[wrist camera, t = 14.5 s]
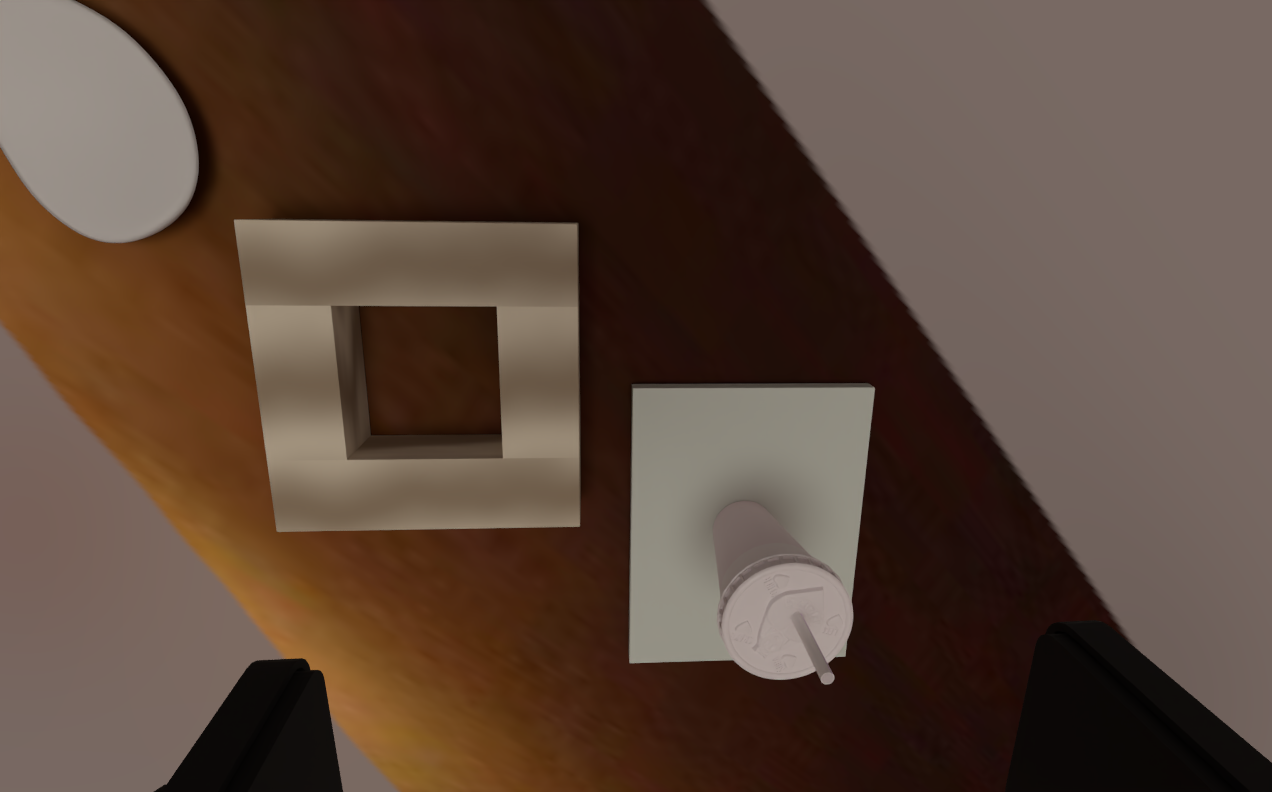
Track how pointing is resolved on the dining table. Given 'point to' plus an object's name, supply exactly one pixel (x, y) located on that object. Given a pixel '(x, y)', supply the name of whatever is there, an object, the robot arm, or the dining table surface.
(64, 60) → the white long flared piece
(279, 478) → the wooden square frame
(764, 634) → the smoothie
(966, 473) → the dining table surface
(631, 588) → the serving board
